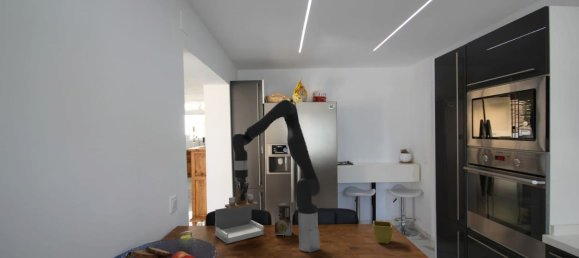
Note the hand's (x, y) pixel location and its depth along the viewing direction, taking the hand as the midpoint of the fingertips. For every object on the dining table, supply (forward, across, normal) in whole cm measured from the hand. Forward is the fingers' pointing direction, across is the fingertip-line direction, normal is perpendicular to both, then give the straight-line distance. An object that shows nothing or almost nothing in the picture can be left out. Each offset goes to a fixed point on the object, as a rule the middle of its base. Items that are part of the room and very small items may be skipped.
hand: (241, 199), depth 143 cm
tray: (+3, 0, 0) cm, 3 cm away
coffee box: (+20, -12, -20) cm, 30 cm away
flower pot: (+20, -53, -53) cm, 77 cm away
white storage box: (+19, +2, 0) cm, 19 cm away
